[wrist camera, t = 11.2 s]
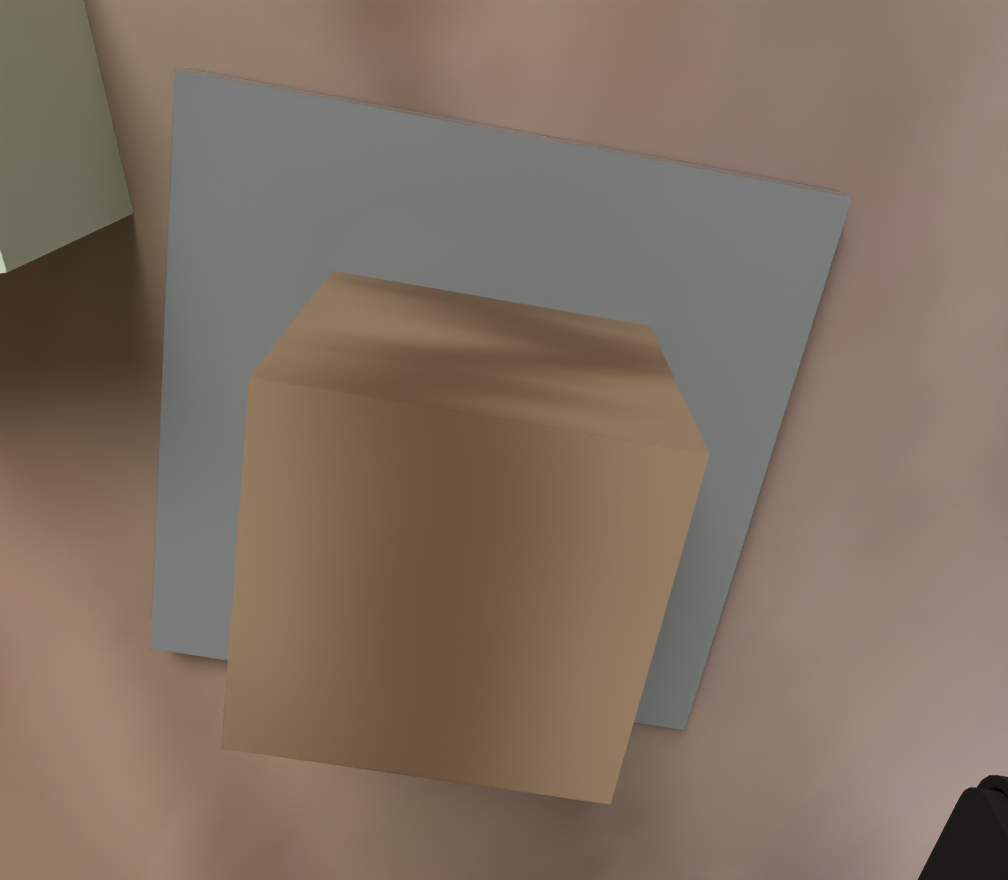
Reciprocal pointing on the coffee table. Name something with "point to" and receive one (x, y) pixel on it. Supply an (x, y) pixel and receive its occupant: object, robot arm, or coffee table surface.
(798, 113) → the coffee table surface
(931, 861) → the robot arm
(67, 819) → the coffee table surface
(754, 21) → the coffee table surface
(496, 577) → the walnut cube
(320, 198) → the slate coaster
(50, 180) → the pale green block
